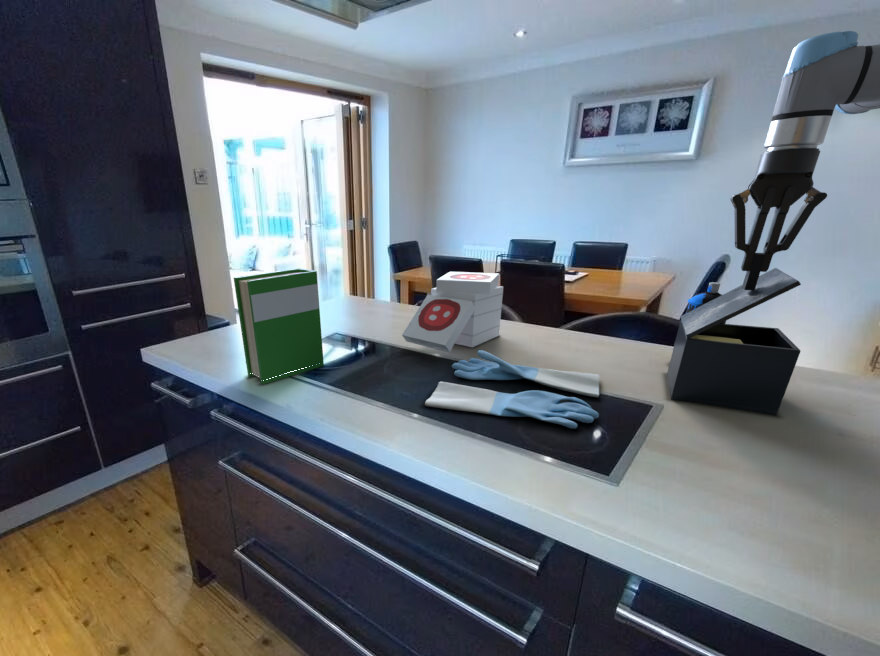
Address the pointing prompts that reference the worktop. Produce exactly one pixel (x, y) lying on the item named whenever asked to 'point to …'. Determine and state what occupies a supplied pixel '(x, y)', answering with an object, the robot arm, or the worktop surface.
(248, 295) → the hardback book
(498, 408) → the rubber gloves
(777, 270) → the bin lid
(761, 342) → the bin
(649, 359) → the worktop surface
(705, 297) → the aerosol can
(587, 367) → the worktop surface
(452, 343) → the pizza boxes
